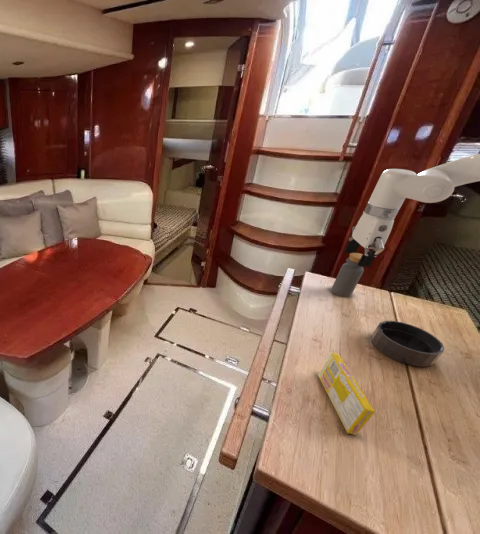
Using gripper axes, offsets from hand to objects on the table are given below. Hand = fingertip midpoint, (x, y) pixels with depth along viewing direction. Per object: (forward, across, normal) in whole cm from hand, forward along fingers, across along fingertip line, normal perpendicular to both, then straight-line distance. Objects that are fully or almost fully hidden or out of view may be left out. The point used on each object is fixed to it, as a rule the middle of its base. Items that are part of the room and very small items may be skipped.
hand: (356, 259), depth 103 cm
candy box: (+14, -52, +20) cm, 57 cm away
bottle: (+14, 0, 0) cm, 14 cm away
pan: (+13, -28, -4) cm, 32 cm away
